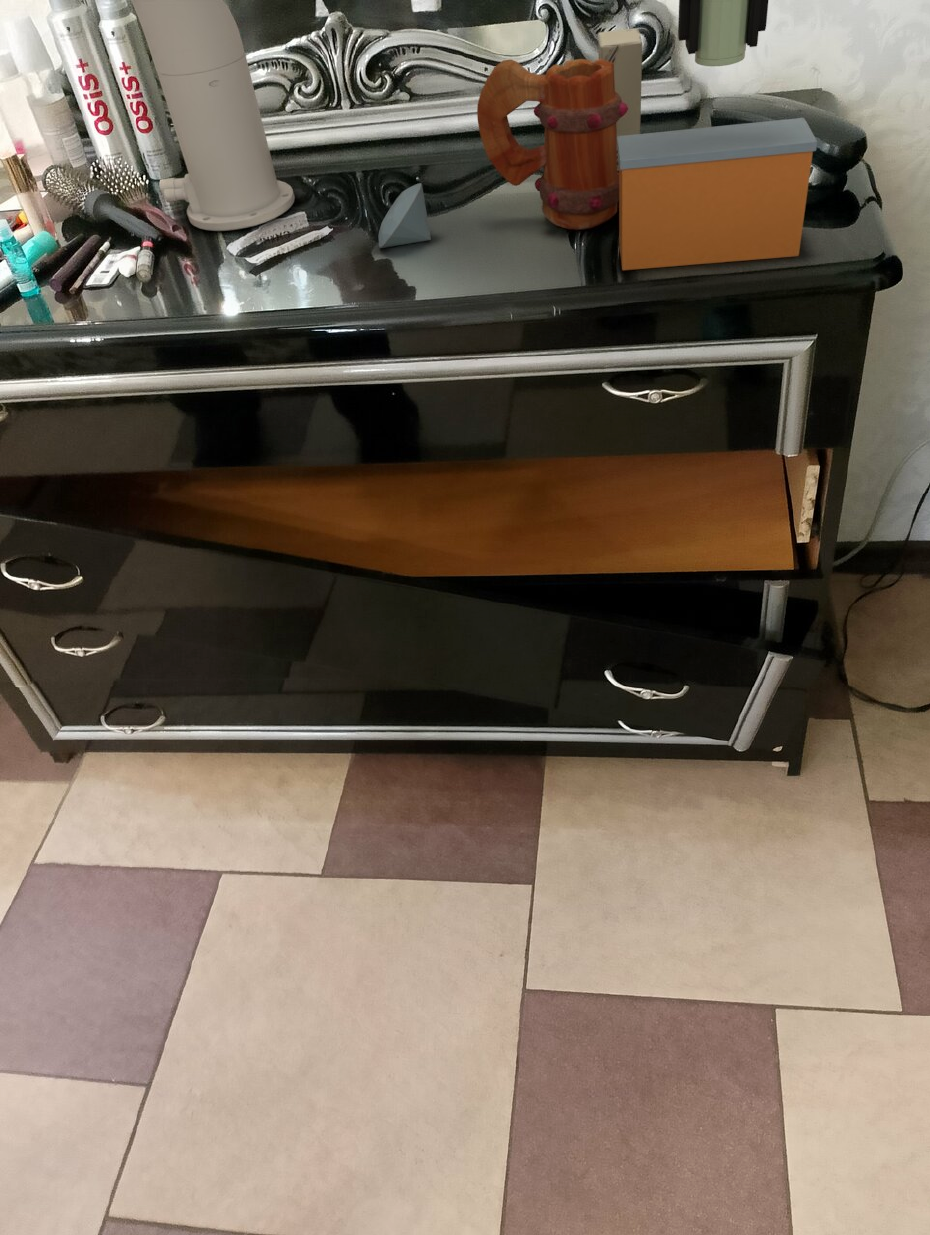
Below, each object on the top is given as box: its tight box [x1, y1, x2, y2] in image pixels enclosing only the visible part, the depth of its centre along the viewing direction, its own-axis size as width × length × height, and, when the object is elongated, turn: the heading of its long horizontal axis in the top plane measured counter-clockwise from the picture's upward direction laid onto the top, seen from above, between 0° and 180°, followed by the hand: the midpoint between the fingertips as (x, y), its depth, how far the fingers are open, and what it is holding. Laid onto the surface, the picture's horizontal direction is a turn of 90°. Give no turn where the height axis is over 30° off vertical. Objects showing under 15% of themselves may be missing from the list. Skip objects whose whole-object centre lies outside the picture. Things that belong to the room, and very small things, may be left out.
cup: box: [694, 0, 750, 67], centre depth 75 cm, size 4×4×6 cm
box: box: [597, 27, 643, 172], centre depth 102 cm, size 5×4×13 cm
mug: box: [476, 58, 628, 231], centre depth 92 cm, size 15×8×15 cm, turn 74°
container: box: [617, 117, 818, 271], centre depth 85 cm, size 16×6×10 cm, turn 86°
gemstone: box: [377, 182, 432, 249], centre depth 97 cm, size 8×8×5 cm
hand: (720, 43), depth 77 cm, fingers closed on cup, 4 cm apart
